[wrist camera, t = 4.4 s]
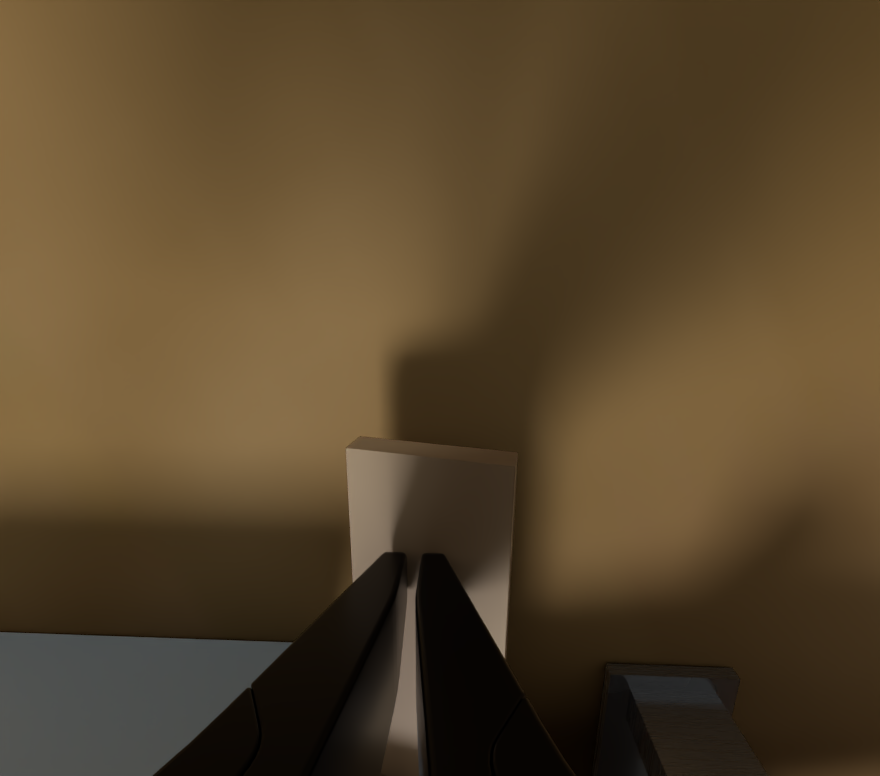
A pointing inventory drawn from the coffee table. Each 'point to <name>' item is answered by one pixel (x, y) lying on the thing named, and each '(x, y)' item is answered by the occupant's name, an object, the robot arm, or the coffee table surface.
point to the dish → (114, 699)
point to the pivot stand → (671, 723)
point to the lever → (432, 542)
